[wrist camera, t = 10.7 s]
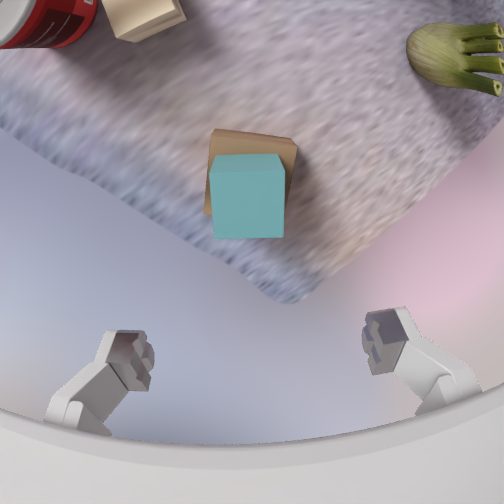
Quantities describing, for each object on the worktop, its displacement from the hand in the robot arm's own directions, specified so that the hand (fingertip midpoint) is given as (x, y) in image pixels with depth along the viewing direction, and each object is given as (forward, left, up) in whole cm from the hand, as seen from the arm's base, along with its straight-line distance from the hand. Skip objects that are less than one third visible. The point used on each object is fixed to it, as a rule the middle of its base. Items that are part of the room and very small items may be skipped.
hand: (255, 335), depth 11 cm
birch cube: (-17, -7, -21) cm, 28 cm away
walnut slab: (0, 0, -21) cm, 21 cm away
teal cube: (0, 0, -17) cm, 17 cm away
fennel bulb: (-12, +18, -21) cm, 30 cm away
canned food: (-20, -16, -21) cm, 33 cm away
